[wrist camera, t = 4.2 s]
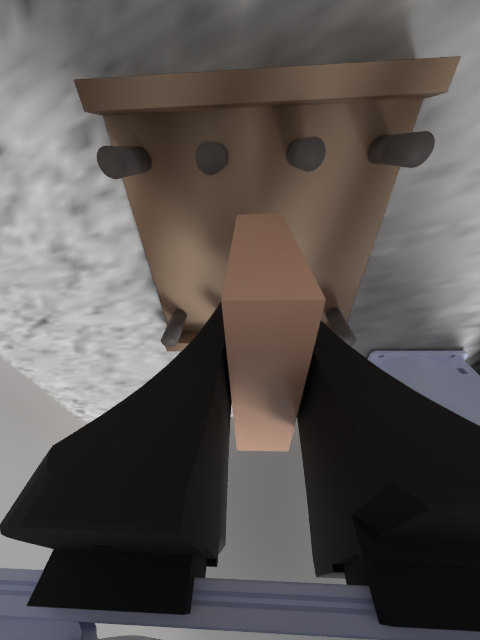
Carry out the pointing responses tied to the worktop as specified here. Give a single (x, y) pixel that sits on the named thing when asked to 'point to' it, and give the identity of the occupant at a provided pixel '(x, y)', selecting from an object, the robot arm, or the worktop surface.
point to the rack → (262, 168)
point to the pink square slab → (268, 329)
